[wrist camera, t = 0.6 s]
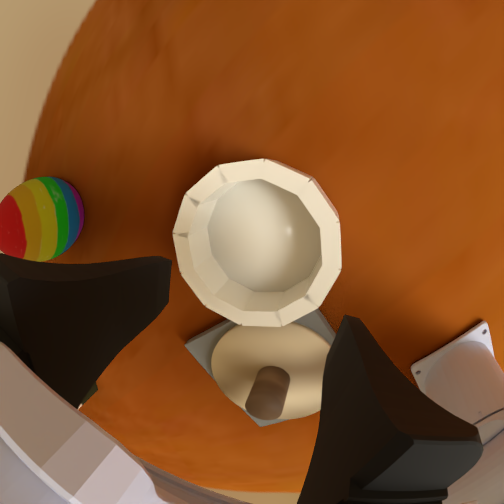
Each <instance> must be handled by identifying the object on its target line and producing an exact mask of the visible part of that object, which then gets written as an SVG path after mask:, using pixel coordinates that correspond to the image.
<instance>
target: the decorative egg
mask: <svg viewBox="0 0 504 504" xmlns="http://www.w3.org/2000/svg"><path fill="white" fill-rule="evenodd" d="M83 222H84V208H83V203H82V200H81V198H80V195H79V193H78V192H77V191H76V189H75V188H74V187H73V186H72V185H70V184H69V183H68V182H66V181H64V180H62V179H59V178H55V177H38V178H34V179H31V180H28V181H26V182H24V183H22V184H20V185H19V186H17V187H16V188H14V189H13V190H12V191H11V192H10V193H8V194H7V196H6V197H5V198H4V199H3V200H2V202H1V203H0V250H1V251H2V252H3V253H5V254H6V255H9V256H13V257H17V258H21V259H26V260H31V261H37V262H41V261H46V260H50V259H52V258H55V257H57V256H59V255H61V254H62V253H64V252H65V251H66V250H68V249H69V248H70V247H71V246H72V245H73V243H74V242H75V241H76V239H77V238H78V236H79V234H80V232H81V230H82V227H83Z"/></svg>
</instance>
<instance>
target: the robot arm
mask: <svg viewBox="0 0 504 504" xmlns="http://www.w3.org/2000/svg"><path fill="white" fill-rule="evenodd" d="M171 266H172V260H169V259H166V258H164V257H161V256H150V257H141V258H134V259H127V260H119V261H111V262H102V263H92V264H57V263H45V262H37V261H31V260H26V259H21V258H17V257H13V256H9V255H6V254H3V253H0V504H250V503H247V502H244V501H240V500H237V499H234V498H230V497H228V496H224V495H222V494H218V493H216V492H213V491H210V490H208V489H205V488H202V487H200V486H197V485H195V484H192V483H190V482H188V481H185V480H183V479H181V478H179V477H176V476H174V475H172V474H170V473H168V472H166V471H164V470H161V469H159V468H157V467H155V466H154V465H152V464H150V463H148V462H146V461H144V460H142V459H140V458H139V457H137V456H135V455H133V454H132V453H131V452H130V451H128V450H127V449H126V448H125V447H124V446H123V445H122V444H121V443H120V442H119V441H118V440H117V439H115V438H114V437H113V436H111V435H110V434H109V433H107V432H106V431H105V430H103V429H102V428H101V427H100V426H98V425H97V424H96V423H95V422H93V421H92V420H91V419H89V418H88V417H87V416H85V415H84V414H83V413H81V412H80V411H79V410H78V408H79V406H80V404H81V403H82V401H83V399H84V398H85V396H86V395H87V393H88V392H89V390H90V389H91V387H92V386H93V384H94V383H95V382H96V380H97V379H98V378H99V376H100V375H101V374H102V372H103V371H104V370H105V368H106V367H107V366H108V365H109V364H110V362H111V361H112V360H113V359H114V358H115V356H116V355H117V354H118V353H119V352H120V351H121V350H122V349H123V348H124V347H125V346H126V345H127V344H128V343H129V342H130V341H132V340H133V339H134V338H135V337H136V336H137V335H138V334H139V333H140V332H141V331H143V330H144V329H145V328H146V327H147V326H148V325H149V324H150V323H151V322H152V321H153V320H154V319H155V318H156V317H157V316H158V315H159V314H160V313H161V311H162V310H163V309H164V307H165V306H166V305H167V304H168V302H169V289H170V277H171ZM484 330H485V331H484ZM483 331H484V332H483ZM417 371H419V372H417ZM411 372H412V374H413V376H414V378H415V380H416V382H417V384H418V386H419V388H420V390H419V389H418V388H417V387H416V386H414V385H413V384H412V383H411V382H410V381H409V380H408V379H407V378H406V377H405V376H404V375H403V374H402V373H401V372H400V371H399V369H398V368H397V367H396V366H395V365H394V364H393V362H392V361H391V360H390V359H389V358H388V356H387V355H386V354H385V353H384V351H383V350H382V349H381V347H380V346H379V345H378V343H377V342H376V340H375V339H374V338H373V336H372V335H371V333H370V332H369V330H368V329H367V328H366V326H365V325H364V324H363V322H362V321H361V320H360V319H359V318H355V317H352V316H348V315H344V317H343V320H342V322H341V325H340V327H339V329H338V332H337V334H336V336H335V339H334V341H333V343H332V345H331V347H330V350H329V352H328V354H327V357H326V362H325V367H324V373H323V381H322V396H321V410H320V422H319V429H318V434H317V439H316V443H315V447H314V451H313V455H312V459H311V462H310V466H309V469H308V473H307V476H306V479H305V482H304V485H303V488H302V491H301V494H300V497H299V499H298V502H297V504H504V373H503V371H502V370H501V368H500V366H499V365H498V363H497V361H496V360H495V358H494V353H493V347H492V342H491V337H490V332H489V327H488V324H487V322H486V321H482V322H480V323H479V324H478V325H476V326H475V327H473V328H472V329H470V330H469V331H467V332H466V333H464V334H463V335H461V336H460V337H458V338H457V339H455V340H454V341H452V342H450V343H449V344H447V345H446V346H444V347H442V348H441V349H439V350H437V351H435V352H434V353H432V354H430V355H429V356H427V357H425V358H423V359H421V360H420V361H418V362H416V363H414V364H413V365H412V366H411Z"/></svg>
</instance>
